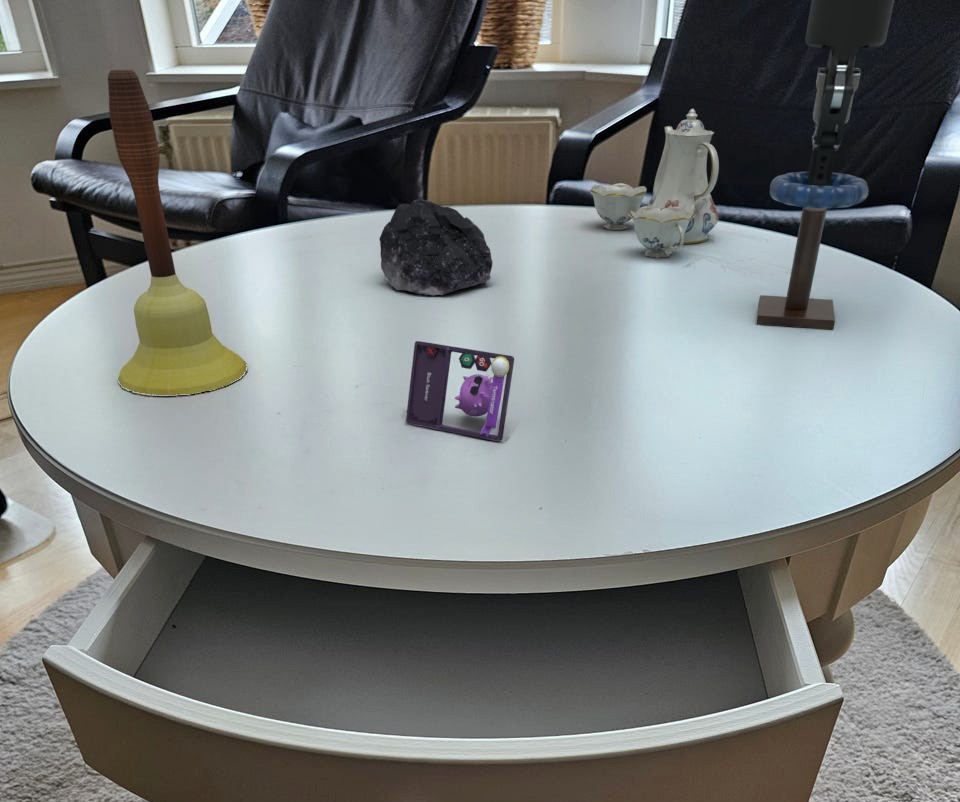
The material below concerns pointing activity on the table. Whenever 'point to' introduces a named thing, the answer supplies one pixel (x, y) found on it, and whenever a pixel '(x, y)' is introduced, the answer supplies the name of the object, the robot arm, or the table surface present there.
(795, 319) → the post
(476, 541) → the table surface
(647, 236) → the chinaware
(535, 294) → the table surface
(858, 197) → the ring
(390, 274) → the dark grey rock
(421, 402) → the game card
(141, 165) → the handbell
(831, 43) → the robot arm
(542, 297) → the table surface
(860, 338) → the table surface
